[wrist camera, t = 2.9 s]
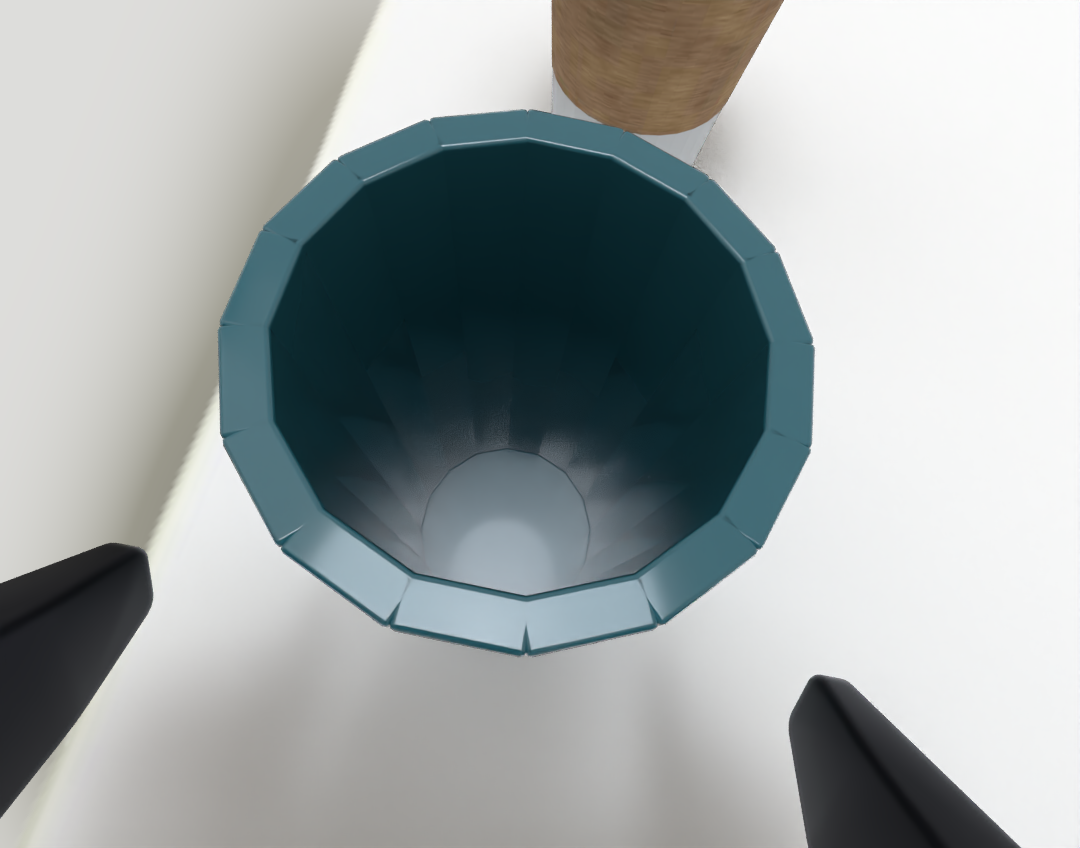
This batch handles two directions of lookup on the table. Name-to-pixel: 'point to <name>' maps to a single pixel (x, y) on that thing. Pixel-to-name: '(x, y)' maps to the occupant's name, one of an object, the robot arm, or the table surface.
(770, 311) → the tumbler
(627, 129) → the coffee cup
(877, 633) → the table surface
